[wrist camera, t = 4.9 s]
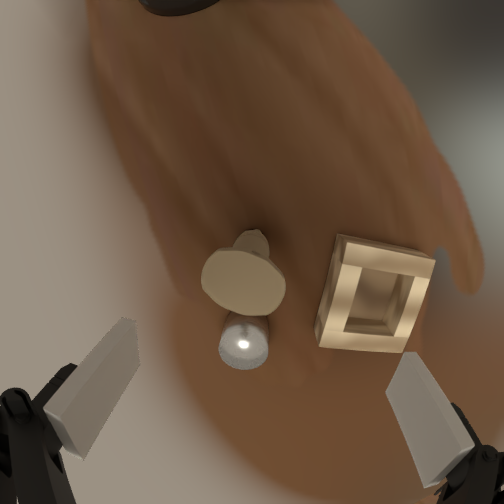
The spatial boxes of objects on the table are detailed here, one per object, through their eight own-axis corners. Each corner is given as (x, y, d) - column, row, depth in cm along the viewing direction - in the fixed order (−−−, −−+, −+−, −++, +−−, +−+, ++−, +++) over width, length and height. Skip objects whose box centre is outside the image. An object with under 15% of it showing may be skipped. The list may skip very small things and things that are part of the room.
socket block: (337, 233, 35) (347, 242, 30) (417, 250, 35) (435, 260, 30) (313, 327, 38) (318, 346, 34) (390, 335, 38) (401, 352, 33)
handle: (269, 267, 37) (269, 325, 22) (222, 247, 36) (193, 294, 22) (284, 233, 35) (295, 272, 21) (236, 213, 35) (214, 238, 21)
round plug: (224, 306, 38) (217, 330, 32) (268, 307, 38) (268, 331, 32) (226, 342, 40) (220, 368, 34) (268, 343, 40) (267, 370, 34)
